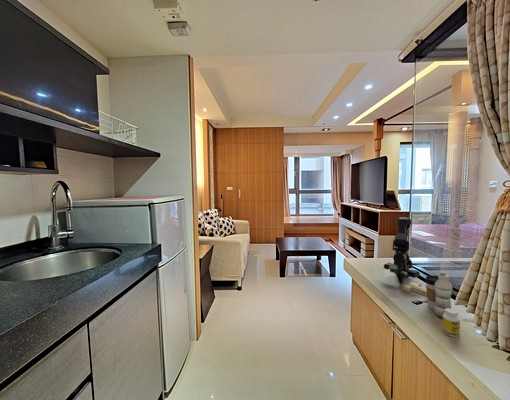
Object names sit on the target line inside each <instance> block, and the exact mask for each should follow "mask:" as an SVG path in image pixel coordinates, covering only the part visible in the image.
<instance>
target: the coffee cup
mask: <svg viewBox="0 0 510 400" xmlns="http://www.w3.org/2000/svg"><path fill="white" fill-rule="evenodd" d="M438 279H439V278H438V275H427V276H426V277H425V279H424V282H425V284H426V285H425V288H426V291H427V299H428V301H427V305H428V307H429V308H430V309H433V310H434V306H435V301H436V292H435V282H436V281H437V280H438Z"/></svg>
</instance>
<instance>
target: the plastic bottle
mask: <svg viewBox="0 0 510 400" xmlns="http://www.w3.org/2000/svg"><path fill="white" fill-rule="evenodd" d="M437 276H438V278H439V279H438V280H437V281H436V282H435V292H436V301H435V306H434V309H433V312H434V313H435V315H436V316H438V317H439V318H442V319H443V314H444V313H445V309H446V308H450V309H452V302H451V299H452V298H451V297H452V293H453V285H452V283H451V282H450V281H449V280H450V278H449V274H447V273H443V272H438V273H437Z"/></svg>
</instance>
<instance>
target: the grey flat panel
mask: <svg viewBox="0 0 510 400" xmlns="http://www.w3.org/2000/svg"><path fill="white" fill-rule="evenodd" d="M376 282H379V283H382V284H384V285H387V286H389V287H392V288H395V289H397V290H399V291H402V292H406V293H408V294H411V295H412V296H416V297H418V298H421V299H424V300H425V301H426V302H428V299H427V296H426V295H423V294H421V293H418V292H415V291H411V292H407V291H404V290H402V286H404V285H406V284H409V283H411V282H410V281H406V280H404V281H403V283H402V284H400V283H399V280H398V278H397V277H395V276H392V275H390V276H387V277H383V278H381V279H377V280H376ZM421 287H422V288H425V289H426V287H424V286H421Z"/></svg>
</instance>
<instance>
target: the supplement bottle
mask: <svg viewBox="0 0 510 400" xmlns="http://www.w3.org/2000/svg"><path fill="white" fill-rule="evenodd" d="M458 315H459V311H457V310H456V309H453V308H451V309H450V308H446V309H445V313H444V314H443V318H442V332H443V333H444V334H445V335H447V336H450V337H452V338H459V336H460V331H461V330H460V329H461V327H460V325H461V319H460V317H459V316H458Z"/></svg>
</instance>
